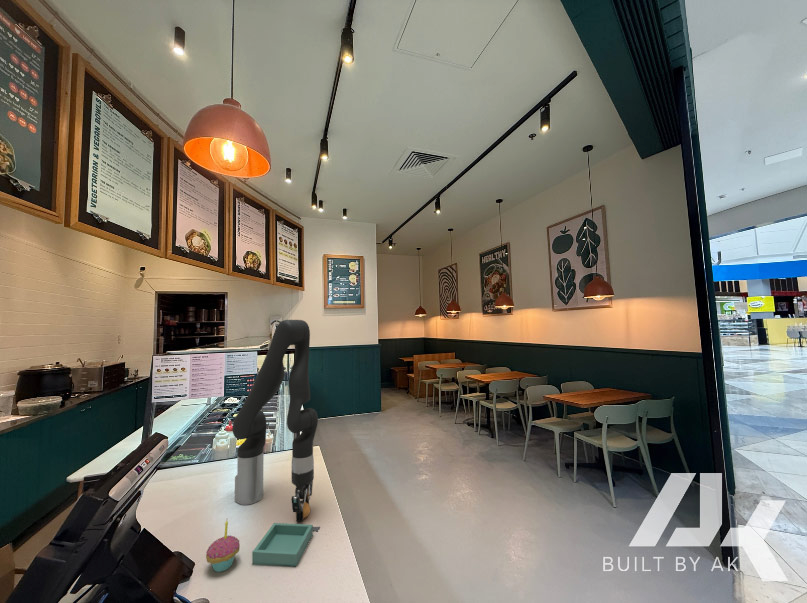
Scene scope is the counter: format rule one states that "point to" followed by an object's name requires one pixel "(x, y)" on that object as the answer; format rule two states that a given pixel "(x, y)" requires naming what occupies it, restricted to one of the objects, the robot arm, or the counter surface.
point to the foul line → (316, 529)
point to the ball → (305, 510)
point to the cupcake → (223, 551)
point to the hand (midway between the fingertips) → (302, 516)
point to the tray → (282, 545)
